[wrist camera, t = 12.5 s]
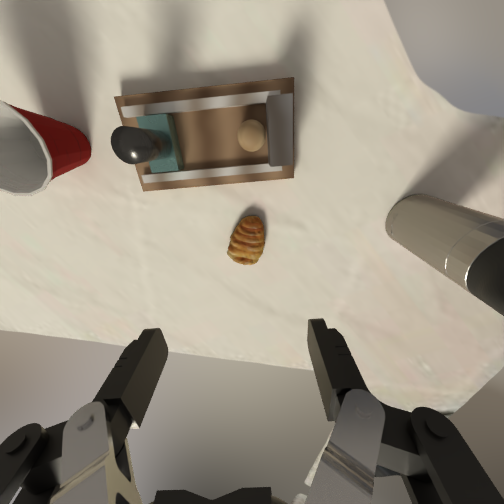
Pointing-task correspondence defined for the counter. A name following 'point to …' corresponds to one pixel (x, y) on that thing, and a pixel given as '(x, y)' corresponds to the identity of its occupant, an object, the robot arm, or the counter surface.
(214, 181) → the base
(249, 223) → the pastry
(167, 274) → the counter surface
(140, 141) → the jaw
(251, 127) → the walnut
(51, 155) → the plastic cup
